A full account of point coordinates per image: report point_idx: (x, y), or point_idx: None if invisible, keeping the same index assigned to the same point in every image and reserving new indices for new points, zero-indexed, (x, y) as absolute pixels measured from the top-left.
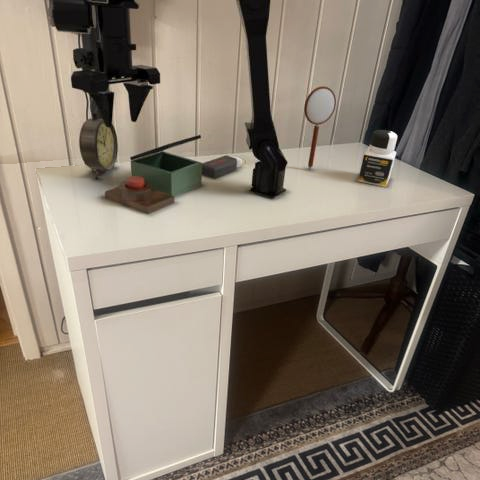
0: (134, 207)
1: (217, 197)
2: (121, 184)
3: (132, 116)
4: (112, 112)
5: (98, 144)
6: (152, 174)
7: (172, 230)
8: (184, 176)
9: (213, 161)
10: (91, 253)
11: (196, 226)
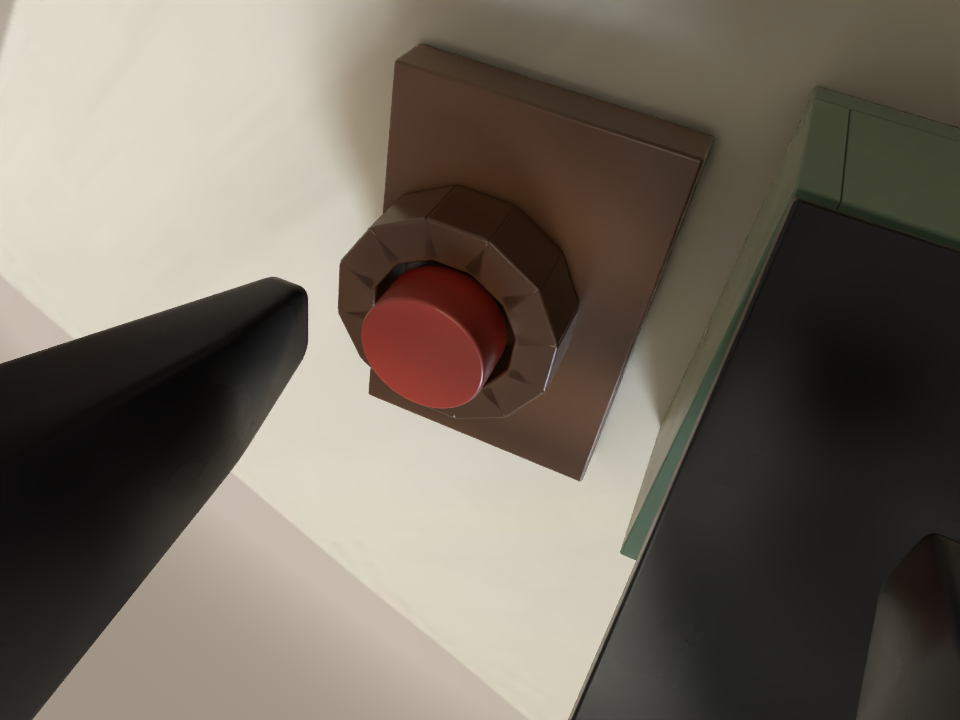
0: None
1: None
2: (398, 236)
3: (914, 637)
4: (123, 593)
5: None
6: (692, 386)
7: (326, 482)
8: None
9: None
10: (13, 283)
11: (412, 551)
